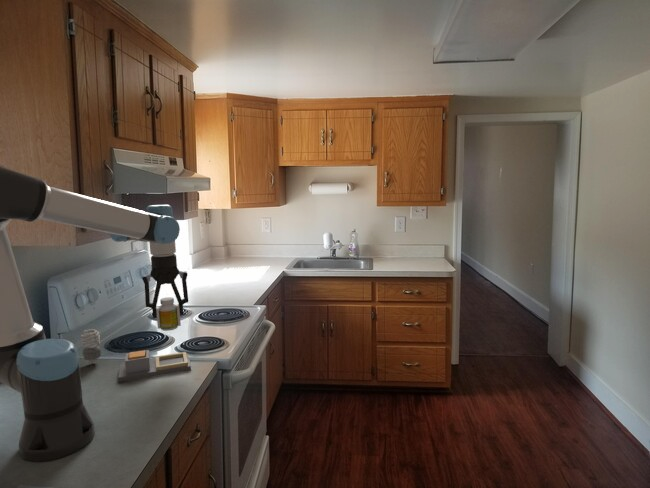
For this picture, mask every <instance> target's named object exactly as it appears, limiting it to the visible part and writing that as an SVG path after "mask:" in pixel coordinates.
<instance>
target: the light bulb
mask: <svg viewBox="0 0 650 488" xmlns="http://www.w3.org/2000/svg"><path fill="white" fill-rule="evenodd" d="M80 341H81V344H82V347H83V348H84V349H83V350H82V355H83V359H84V360H85V361H88V363H89V364H90V365H94V364H96V363H97V361H98V358H100V357H101V356H102V352H101V351H102V349H101V347H100V344H101V335H100V331H98V330H97V329H94V328H89V329H86V330H85V329H84V330H83V331H82V334H81V335H80Z"/></svg>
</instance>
